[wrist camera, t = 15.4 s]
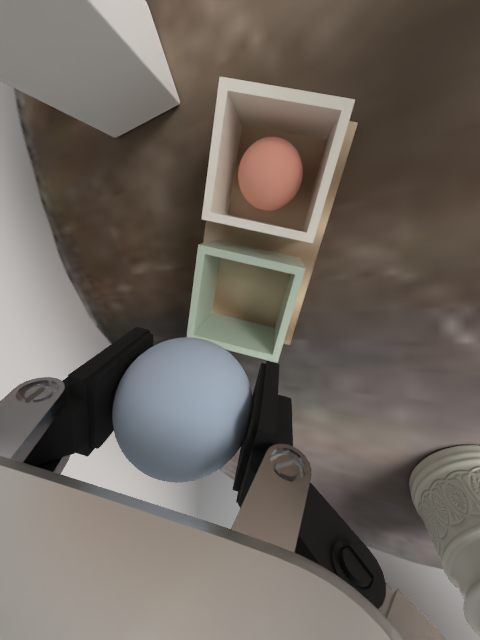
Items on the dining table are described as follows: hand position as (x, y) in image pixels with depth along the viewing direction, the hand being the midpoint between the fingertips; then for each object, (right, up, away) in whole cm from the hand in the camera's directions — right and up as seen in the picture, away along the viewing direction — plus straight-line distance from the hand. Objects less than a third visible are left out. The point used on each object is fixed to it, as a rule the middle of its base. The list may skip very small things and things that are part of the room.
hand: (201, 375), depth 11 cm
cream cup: (+5, +15, +11) cm, 19 cm away
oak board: (+4, +11, +14) cm, 18 cm away
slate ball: (0, 0, +1) cm, 1 cm away
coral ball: (+5, +15, +11) cm, 19 cm away
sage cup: (+3, +6, +15) cm, 16 cm away
